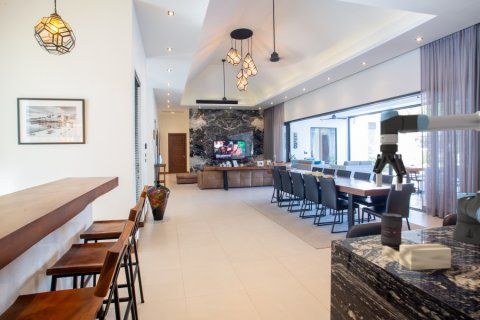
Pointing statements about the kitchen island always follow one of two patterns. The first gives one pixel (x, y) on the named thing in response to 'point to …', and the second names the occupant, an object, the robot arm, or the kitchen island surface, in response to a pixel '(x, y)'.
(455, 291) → the kitchen island surface
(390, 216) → the camera lens
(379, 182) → the robot arm
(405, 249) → the cradle
